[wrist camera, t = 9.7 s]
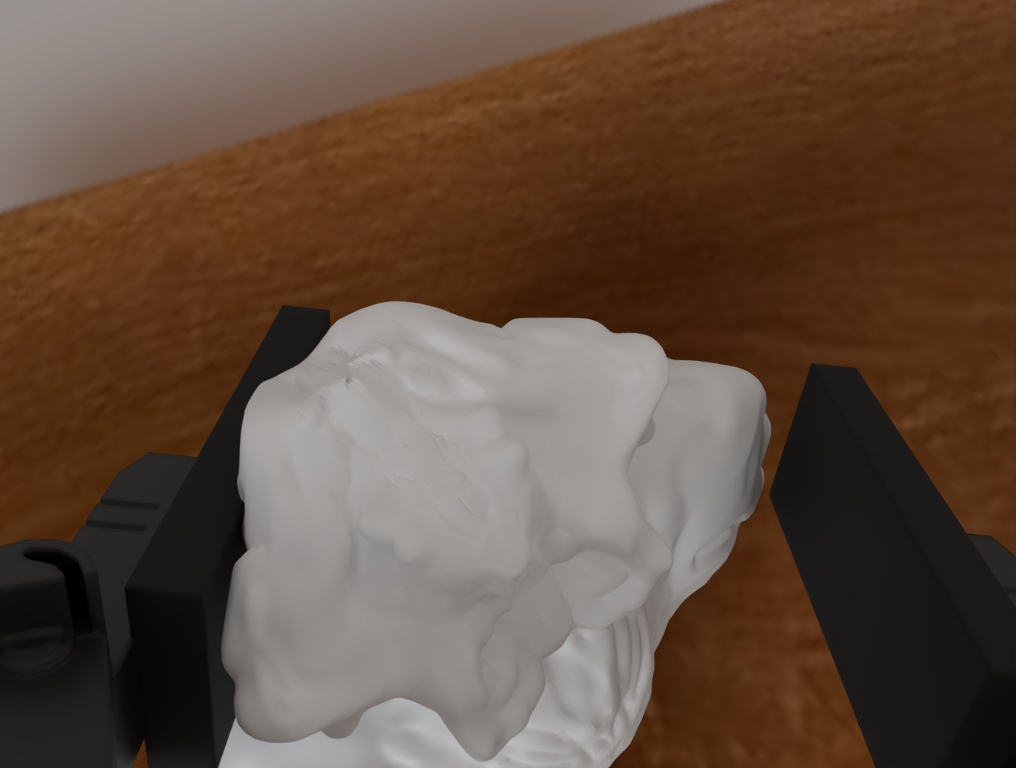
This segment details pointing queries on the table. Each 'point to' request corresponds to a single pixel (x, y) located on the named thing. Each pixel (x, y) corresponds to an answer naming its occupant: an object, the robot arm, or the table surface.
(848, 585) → the robot arm
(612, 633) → the bust
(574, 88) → the table surface
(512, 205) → the table surface
